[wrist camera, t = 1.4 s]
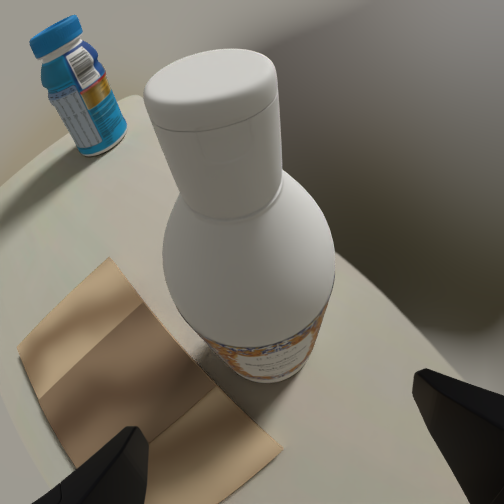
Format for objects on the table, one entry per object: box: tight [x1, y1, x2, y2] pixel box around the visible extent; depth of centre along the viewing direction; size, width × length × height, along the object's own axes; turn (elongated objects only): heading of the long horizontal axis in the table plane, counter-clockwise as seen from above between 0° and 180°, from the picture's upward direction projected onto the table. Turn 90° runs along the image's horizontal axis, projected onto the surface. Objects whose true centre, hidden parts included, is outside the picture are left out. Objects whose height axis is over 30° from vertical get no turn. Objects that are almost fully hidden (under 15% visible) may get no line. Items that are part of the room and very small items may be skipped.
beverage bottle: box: [30, 15, 127, 156], centre depth 31 cm, size 8×8×20 cm
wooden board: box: [17, 257, 283, 504], centre depth 20 cm, size 22×14×1 cm, turn 45°
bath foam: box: [144, 49, 335, 383], centre depth 14 cm, size 7×7×20 cm
